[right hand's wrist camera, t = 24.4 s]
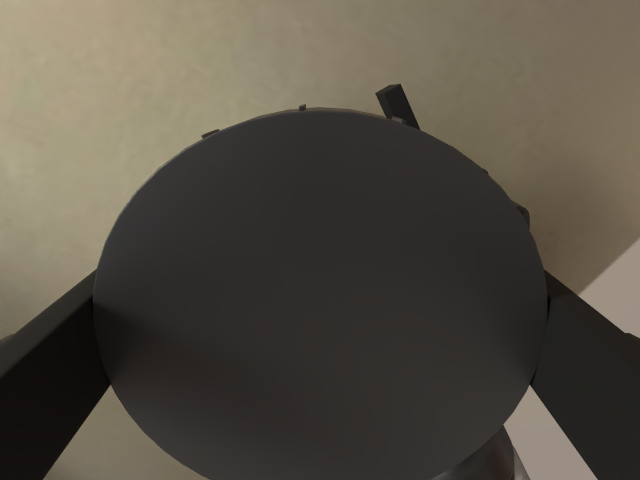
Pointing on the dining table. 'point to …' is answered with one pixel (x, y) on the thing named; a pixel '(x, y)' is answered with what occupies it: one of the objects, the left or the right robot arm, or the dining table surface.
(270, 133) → the lid
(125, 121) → the dining table surface
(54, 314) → the right robot arm
